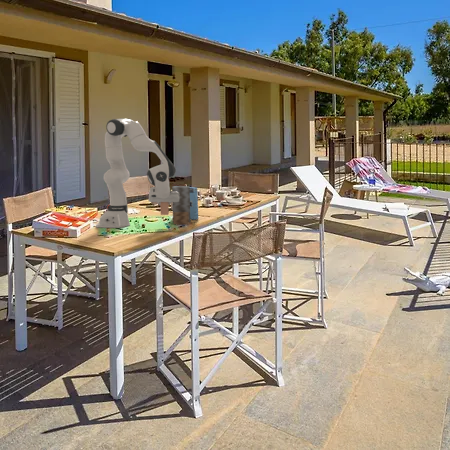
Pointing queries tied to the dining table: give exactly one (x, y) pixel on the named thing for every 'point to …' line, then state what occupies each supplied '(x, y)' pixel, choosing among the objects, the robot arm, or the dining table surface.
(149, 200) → the robot arm
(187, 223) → the wall board with cleat
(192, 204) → the gum box
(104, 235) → the dining table surface
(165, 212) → the salmon brown rectangular block
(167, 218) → the dining table surface
